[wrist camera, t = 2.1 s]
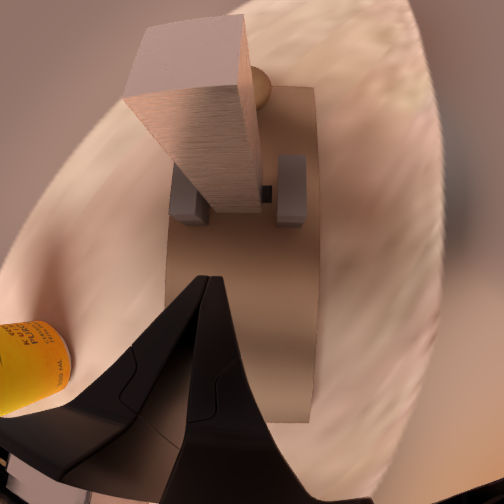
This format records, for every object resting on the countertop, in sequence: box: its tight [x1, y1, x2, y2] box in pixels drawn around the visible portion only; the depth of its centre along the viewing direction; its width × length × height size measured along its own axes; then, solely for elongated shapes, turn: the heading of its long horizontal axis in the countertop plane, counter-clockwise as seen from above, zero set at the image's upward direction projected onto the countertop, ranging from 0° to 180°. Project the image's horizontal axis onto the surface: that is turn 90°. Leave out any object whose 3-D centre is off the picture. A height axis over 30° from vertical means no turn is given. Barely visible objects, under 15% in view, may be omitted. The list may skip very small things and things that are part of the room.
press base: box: [165, 66, 320, 423], centre depth 16 cm, size 22×9×5 cm, turn 178°
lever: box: [122, 14, 272, 213], centre depth 11 cm, size 2×3×12 cm
